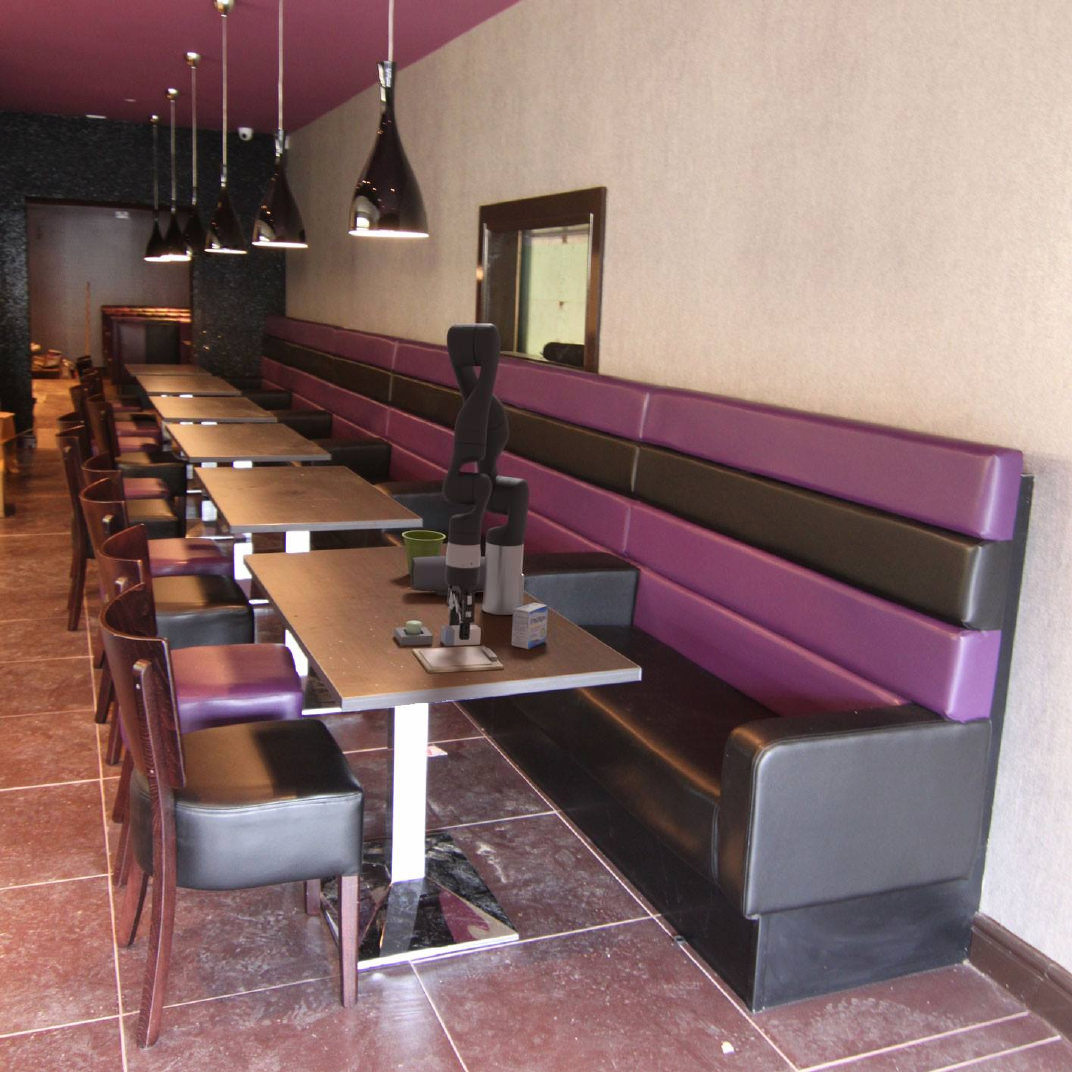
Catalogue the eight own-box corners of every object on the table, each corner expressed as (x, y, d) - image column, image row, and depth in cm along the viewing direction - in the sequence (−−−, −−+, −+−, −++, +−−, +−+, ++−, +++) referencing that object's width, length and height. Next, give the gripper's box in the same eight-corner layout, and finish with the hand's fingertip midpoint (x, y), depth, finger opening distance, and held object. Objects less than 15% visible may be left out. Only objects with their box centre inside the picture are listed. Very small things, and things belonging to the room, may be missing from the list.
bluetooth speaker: (493, 588, 297) (495, 552, 295) (502, 597, 288) (504, 560, 286) (408, 589, 290) (410, 552, 288) (414, 599, 282) (416, 560, 280)
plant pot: (394, 577, 302) (395, 536, 299) (408, 568, 313) (410, 528, 311) (436, 582, 299) (438, 541, 297) (449, 572, 311) (451, 533, 308)
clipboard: (484, 648, 245) (484, 642, 245) (503, 669, 232) (503, 662, 232) (412, 651, 239) (412, 645, 239) (428, 672, 227) (428, 666, 226)
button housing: (424, 635, 252) (425, 626, 251) (432, 644, 245) (432, 635, 245) (394, 636, 250) (394, 627, 249) (401, 645, 243) (401, 636, 243)
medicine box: (527, 650, 246) (530, 612, 244) (510, 645, 248) (512, 608, 246) (546, 642, 253) (548, 605, 251) (529, 638, 255) (531, 601, 253)
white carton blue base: (475, 639, 251) (476, 624, 250) (479, 644, 248) (480, 629, 247) (441, 641, 248) (441, 625, 248) (445, 645, 245) (445, 630, 244)
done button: (419, 631, 249) (419, 620, 249) (422, 636, 246) (423, 624, 246) (404, 632, 248) (404, 621, 248) (407, 636, 245) (408, 625, 245)
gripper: (488, 569, 239) (484, 642, 242) (470, 555, 252) (466, 624, 255) (454, 570, 237) (450, 643, 240) (438, 555, 250) (434, 625, 253)
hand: (458, 633), depth 247 cm, fingers open, 8 cm apart
